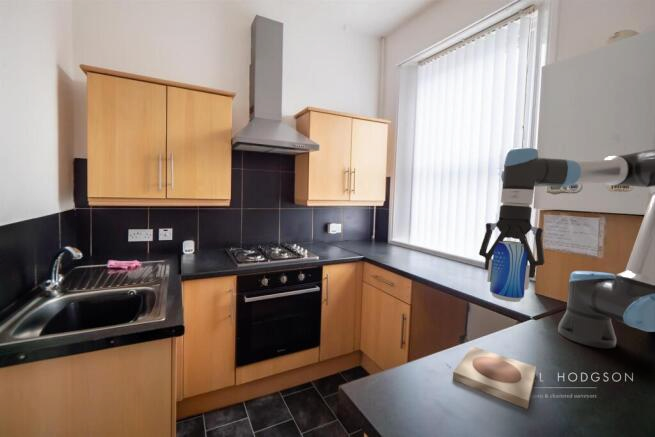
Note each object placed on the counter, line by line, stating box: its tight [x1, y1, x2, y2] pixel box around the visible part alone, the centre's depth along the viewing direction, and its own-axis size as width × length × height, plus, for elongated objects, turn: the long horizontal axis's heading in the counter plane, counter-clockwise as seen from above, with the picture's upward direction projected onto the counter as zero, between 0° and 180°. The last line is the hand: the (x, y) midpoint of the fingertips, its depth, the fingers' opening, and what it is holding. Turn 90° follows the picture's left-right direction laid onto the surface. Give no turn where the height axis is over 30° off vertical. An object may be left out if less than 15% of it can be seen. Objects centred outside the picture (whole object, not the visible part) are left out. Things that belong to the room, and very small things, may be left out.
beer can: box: [489, 240, 529, 303], centre depth 86 cm, size 8×8×16 cm
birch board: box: [452, 345, 537, 410], centre depth 79 cm, size 16×18×2 cm
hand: (507, 284), depth 86 cm, fingers closed on beer can, 8 cm apart
